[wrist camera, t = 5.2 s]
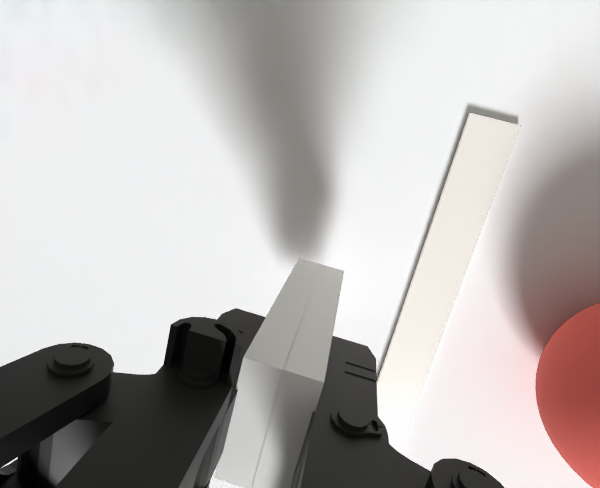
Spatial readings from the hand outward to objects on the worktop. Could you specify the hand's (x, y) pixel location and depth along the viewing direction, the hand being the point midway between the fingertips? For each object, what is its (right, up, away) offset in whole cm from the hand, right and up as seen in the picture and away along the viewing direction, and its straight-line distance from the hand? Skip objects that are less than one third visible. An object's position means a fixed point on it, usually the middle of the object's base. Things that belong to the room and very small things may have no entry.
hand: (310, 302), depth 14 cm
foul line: (+4, -1, +2) cm, 4 cm away
